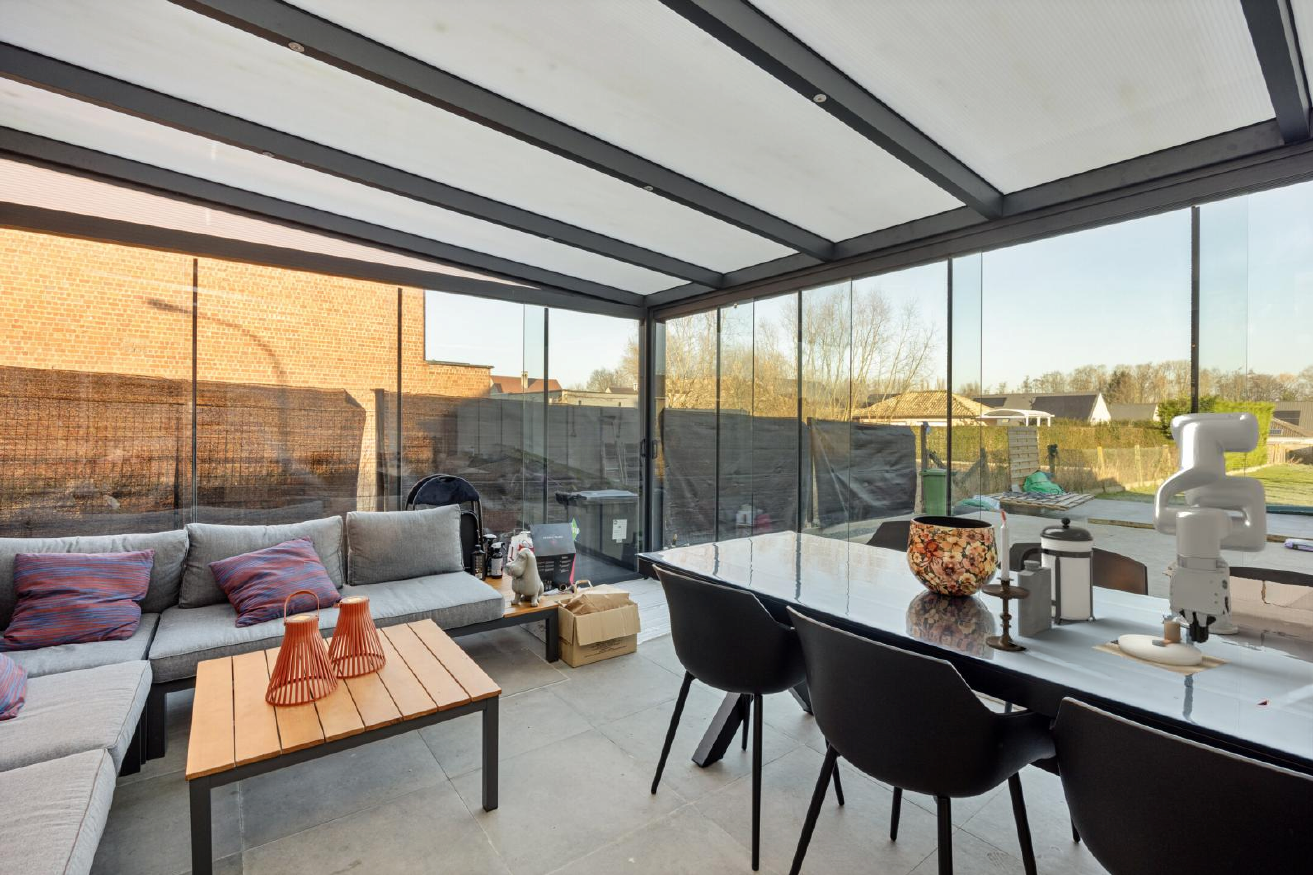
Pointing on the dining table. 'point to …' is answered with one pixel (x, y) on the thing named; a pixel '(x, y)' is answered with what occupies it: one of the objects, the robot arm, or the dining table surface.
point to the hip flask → (1035, 599)
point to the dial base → (1181, 669)
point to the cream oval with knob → (1162, 647)
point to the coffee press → (1067, 569)
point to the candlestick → (1005, 596)
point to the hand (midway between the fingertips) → (1199, 641)
